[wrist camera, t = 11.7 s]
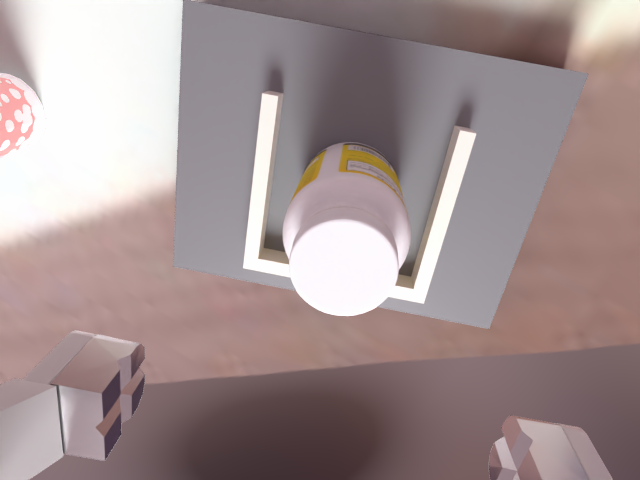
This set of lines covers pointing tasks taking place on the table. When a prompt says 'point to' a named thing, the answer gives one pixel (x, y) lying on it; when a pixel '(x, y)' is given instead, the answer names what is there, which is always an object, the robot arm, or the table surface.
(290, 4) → the table surface
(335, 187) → the supplement bottle
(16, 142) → the beverage cup
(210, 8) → the dock
